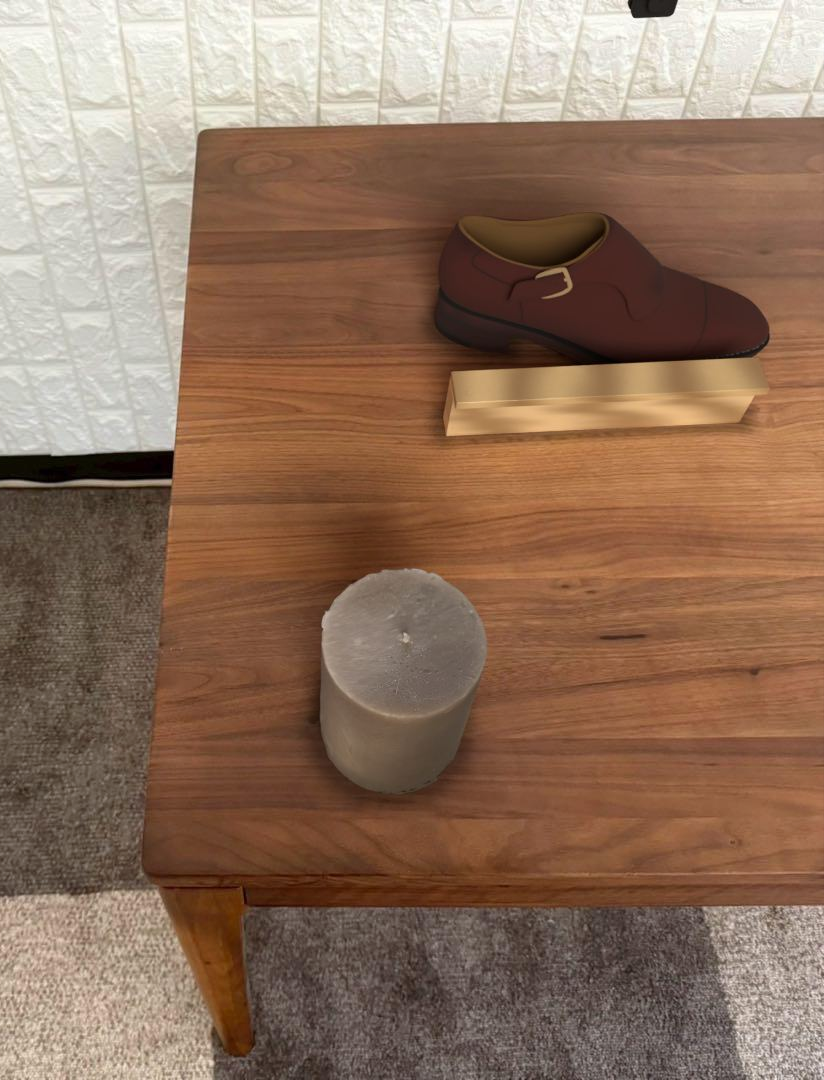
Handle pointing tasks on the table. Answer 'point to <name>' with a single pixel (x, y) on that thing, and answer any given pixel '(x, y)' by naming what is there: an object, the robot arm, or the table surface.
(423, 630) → the pillar candle
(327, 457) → the table surface
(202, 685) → the table surface
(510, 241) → the dress shoe
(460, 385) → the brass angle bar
